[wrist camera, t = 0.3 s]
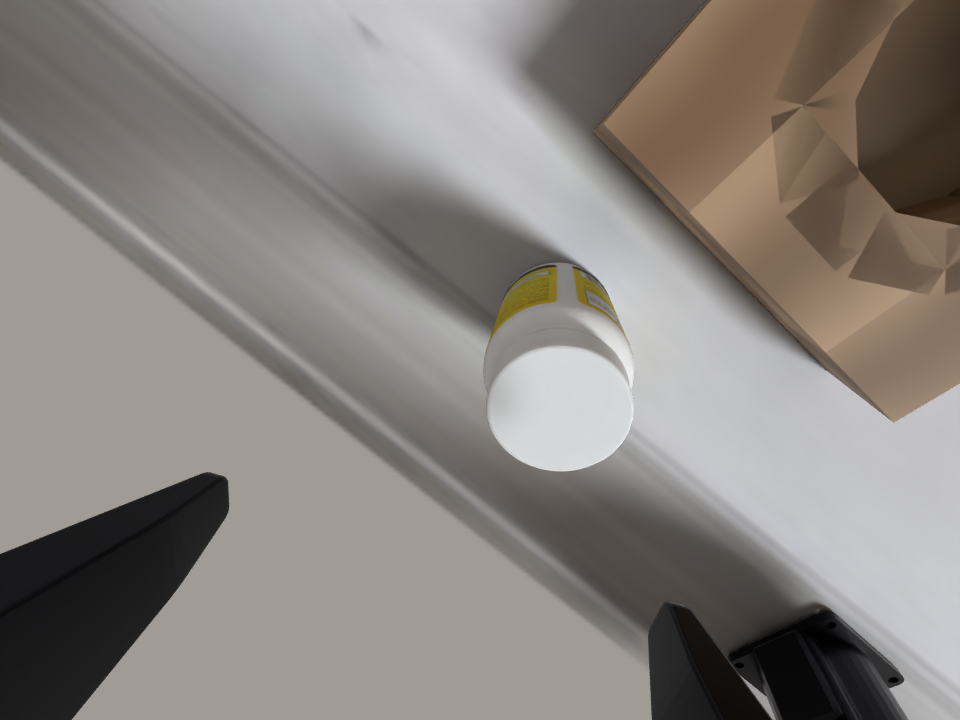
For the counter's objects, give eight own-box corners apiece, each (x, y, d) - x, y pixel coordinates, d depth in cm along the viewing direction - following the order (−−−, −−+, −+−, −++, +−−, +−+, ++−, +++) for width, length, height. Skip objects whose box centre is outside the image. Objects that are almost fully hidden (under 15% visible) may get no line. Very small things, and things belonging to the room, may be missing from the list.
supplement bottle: (494, 354, 21) (460, 466, 13) (509, 252, 19) (479, 315, 11) (598, 371, 20) (624, 497, 13) (624, 270, 18) (673, 347, 11)
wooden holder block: (1278, 68, 13) (1547, 35, 10) (828, 371, 19) (893, 422, 15) (1016, -357, 11) (1241, -607, 7) (592, 131, 17) (603, 123, 13)
